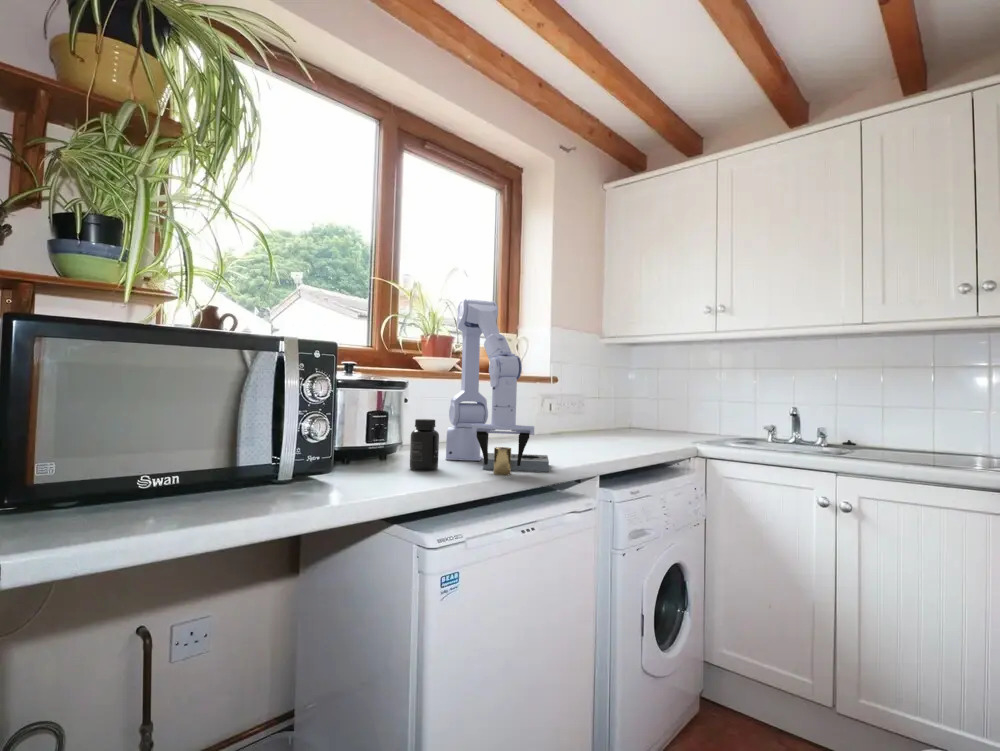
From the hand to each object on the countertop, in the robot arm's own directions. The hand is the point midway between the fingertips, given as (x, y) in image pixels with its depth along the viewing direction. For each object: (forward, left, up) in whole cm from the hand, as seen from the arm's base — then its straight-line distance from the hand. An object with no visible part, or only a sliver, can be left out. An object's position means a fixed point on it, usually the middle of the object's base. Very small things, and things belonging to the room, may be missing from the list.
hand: (502, 464), depth 123 cm
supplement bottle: (-19, +2, -2) cm, 19 cm away
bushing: (0, 0, -2) cm, 2 cm away
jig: (+3, +11, -2) cm, 12 cm away
